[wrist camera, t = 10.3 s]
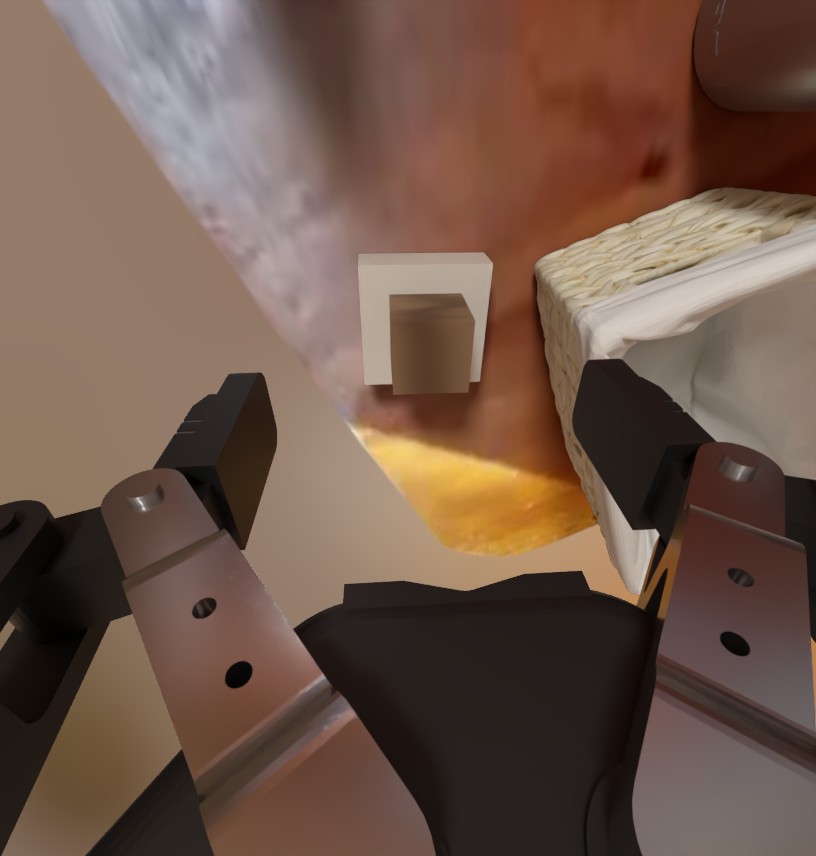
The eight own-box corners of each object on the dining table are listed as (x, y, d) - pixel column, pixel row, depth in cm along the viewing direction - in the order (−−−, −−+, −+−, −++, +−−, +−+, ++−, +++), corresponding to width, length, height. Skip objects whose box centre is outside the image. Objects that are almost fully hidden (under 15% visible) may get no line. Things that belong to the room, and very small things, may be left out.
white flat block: (483, 252, 32) (493, 263, 30) (472, 364, 37) (479, 381, 35) (359, 253, 32) (358, 265, 29) (365, 366, 37) (364, 384, 34)
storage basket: (722, 426, 43) (858, 546, 31) (558, 476, 46) (625, 606, 34) (739, 158, 30) (988, 187, 18) (506, 250, 32) (586, 331, 20)
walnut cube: (461, 293, 31) (475, 320, 27) (456, 358, 34) (468, 392, 29) (389, 294, 30) (391, 322, 26) (390, 360, 33) (393, 394, 29)
